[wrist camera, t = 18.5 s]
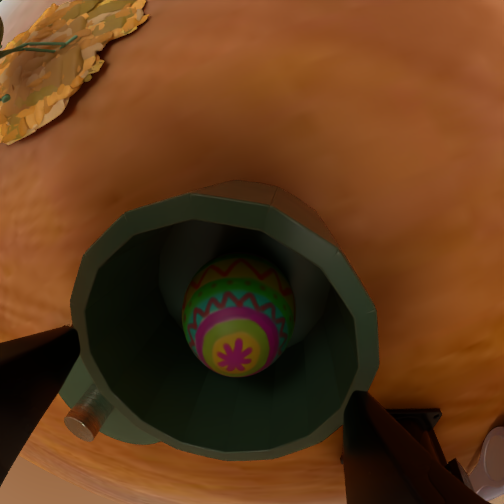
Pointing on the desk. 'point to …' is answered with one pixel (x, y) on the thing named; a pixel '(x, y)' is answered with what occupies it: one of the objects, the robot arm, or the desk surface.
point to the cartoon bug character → (57, 60)
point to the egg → (238, 314)
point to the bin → (174, 341)
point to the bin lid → (96, 411)
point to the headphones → (490, 467)
